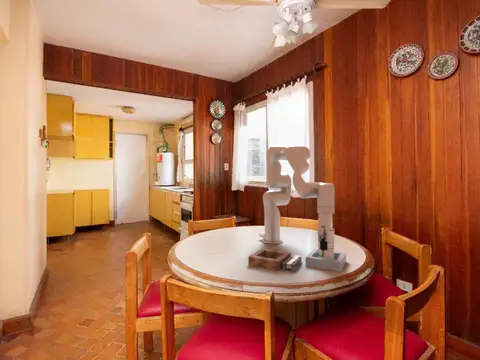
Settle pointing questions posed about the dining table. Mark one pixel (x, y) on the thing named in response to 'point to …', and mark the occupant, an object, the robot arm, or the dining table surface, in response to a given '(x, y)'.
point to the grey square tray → (326, 261)
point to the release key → (293, 261)
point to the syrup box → (330, 246)
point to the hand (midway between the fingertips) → (325, 247)
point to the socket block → (273, 260)
